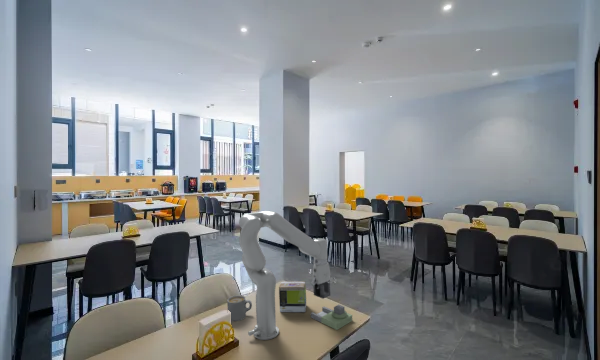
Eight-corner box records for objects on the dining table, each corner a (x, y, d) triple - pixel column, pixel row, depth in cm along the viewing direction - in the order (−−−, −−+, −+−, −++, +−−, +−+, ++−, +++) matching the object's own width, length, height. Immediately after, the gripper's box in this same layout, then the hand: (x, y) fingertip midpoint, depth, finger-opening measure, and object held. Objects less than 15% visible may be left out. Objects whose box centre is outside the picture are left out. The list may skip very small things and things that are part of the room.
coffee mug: (226, 321, 152) (226, 303, 152) (229, 313, 162) (228, 296, 162) (251, 319, 154) (251, 301, 154) (252, 311, 164) (251, 294, 164)
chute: (323, 298, 151) (322, 285, 151) (313, 295, 156) (313, 282, 156) (330, 295, 155) (329, 282, 155) (321, 291, 160) (320, 279, 160)
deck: (336, 330, 141) (336, 315, 141) (310, 317, 155) (310, 304, 154) (352, 320, 150) (352, 306, 150) (326, 309, 163) (326, 296, 163)
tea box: (306, 305, 170) (305, 280, 170) (305, 313, 160) (304, 287, 160) (282, 304, 172) (281, 280, 172) (279, 312, 162) (278, 286, 162)
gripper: (314, 266, 147) (316, 300, 147) (335, 259, 159) (337, 290, 159) (304, 263, 152) (306, 296, 153) (325, 256, 164) (327, 287, 164)
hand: (321, 293), depth 156 cm, fingers closed on chute, 6 cm apart
